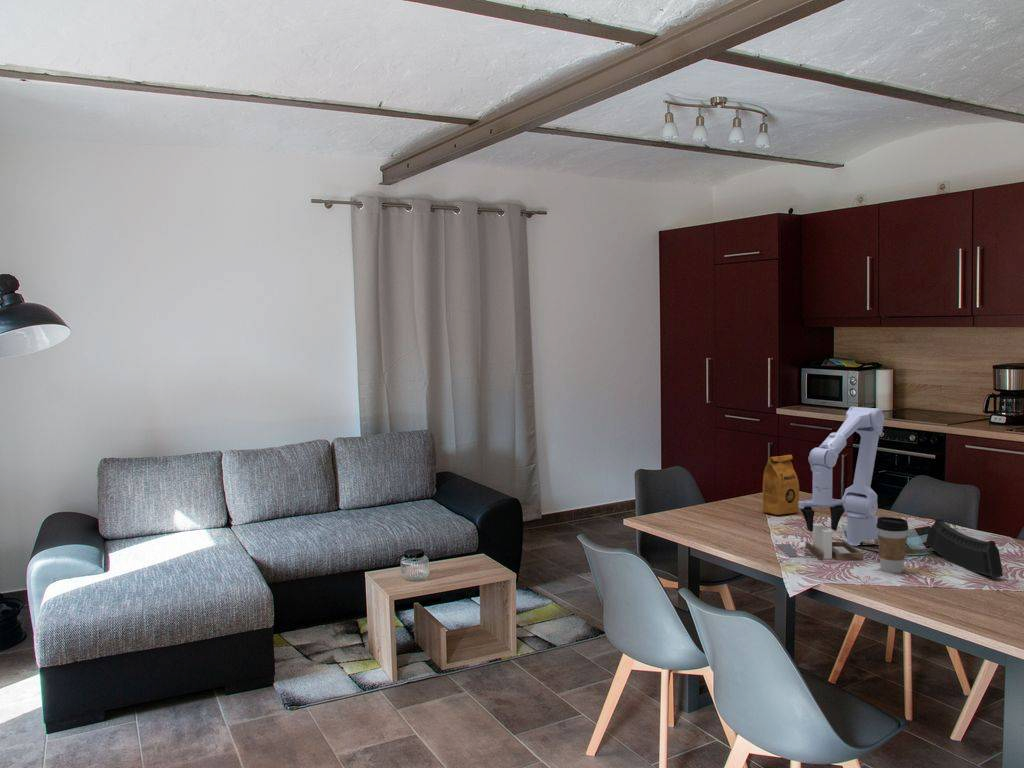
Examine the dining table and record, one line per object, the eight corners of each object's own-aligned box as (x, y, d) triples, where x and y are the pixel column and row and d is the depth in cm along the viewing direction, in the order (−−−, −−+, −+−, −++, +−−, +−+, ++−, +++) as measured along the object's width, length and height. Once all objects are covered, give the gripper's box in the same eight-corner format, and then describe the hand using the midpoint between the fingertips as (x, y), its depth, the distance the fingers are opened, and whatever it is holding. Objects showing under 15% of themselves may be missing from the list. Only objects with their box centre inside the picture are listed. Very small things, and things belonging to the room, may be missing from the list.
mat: (797, 544, 265) (797, 543, 265) (812, 557, 251) (812, 556, 251) (775, 545, 265) (775, 544, 265) (789, 557, 251) (789, 556, 251)
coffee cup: (871, 565, 241) (871, 515, 240) (900, 565, 241) (900, 515, 240) (883, 574, 233) (883, 522, 232) (913, 574, 232) (913, 522, 231)
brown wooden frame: (845, 547, 261) (845, 541, 261) (863, 560, 247) (863, 553, 247) (804, 548, 261) (804, 542, 261) (820, 560, 247) (820, 554, 247)
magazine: (1010, 551, 222) (944, 497, 250) (998, 551, 222) (934, 497, 250) (996, 604, 228) (934, 545, 256) (985, 604, 228) (924, 546, 256)
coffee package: (803, 514, 307) (803, 455, 305) (777, 517, 302) (777, 458, 300) (785, 508, 316) (785, 452, 314) (759, 512, 311) (759, 455, 309)
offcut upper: (842, 549, 258) (842, 546, 258) (850, 555, 251) (850, 552, 251) (832, 549, 258) (832, 546, 258) (839, 555, 251) (839, 552, 251)
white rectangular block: (820, 549, 259) (820, 523, 258) (831, 559, 249) (832, 531, 248) (812, 550, 259) (812, 523, 258) (823, 559, 249) (824, 531, 248)
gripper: (838, 483, 257) (838, 526, 258) (794, 485, 256) (793, 528, 257) (849, 487, 250) (849, 531, 251) (804, 489, 249) (803, 533, 250)
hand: (822, 530), depth 253 cm, fingers open, 7 cm apart
